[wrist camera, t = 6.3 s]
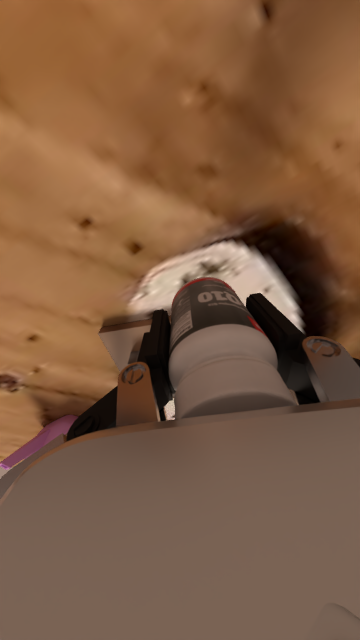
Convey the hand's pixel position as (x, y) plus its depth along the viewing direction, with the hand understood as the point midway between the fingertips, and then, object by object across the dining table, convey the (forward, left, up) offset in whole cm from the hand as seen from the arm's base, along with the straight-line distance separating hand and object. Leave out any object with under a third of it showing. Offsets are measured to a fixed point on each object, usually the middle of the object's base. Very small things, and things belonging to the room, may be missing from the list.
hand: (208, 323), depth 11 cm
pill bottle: (0, 0, -2) cm, 2 cm away
